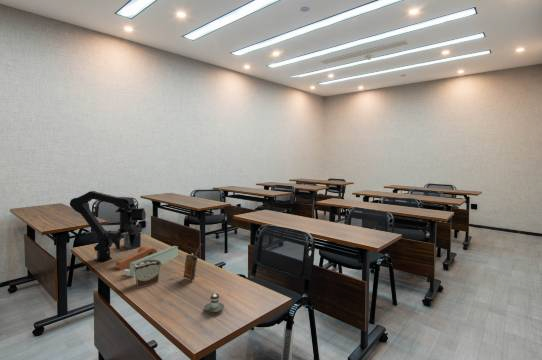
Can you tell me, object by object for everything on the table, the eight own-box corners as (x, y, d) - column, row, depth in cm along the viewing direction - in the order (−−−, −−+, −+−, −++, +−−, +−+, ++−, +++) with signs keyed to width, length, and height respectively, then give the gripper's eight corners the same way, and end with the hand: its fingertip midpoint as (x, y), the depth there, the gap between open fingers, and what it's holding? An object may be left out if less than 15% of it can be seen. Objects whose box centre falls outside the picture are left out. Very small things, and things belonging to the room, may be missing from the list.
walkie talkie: (206, 278, 141) (206, 242, 140) (184, 287, 130) (184, 248, 129) (188, 272, 148) (189, 237, 147) (166, 280, 138) (166, 243, 137)
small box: (141, 249, 184) (141, 232, 184) (131, 251, 179) (131, 234, 178) (133, 245, 191) (133, 230, 190) (123, 247, 186) (123, 231, 185)
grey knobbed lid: (202, 317, 106) (202, 304, 106) (196, 302, 117) (196, 290, 117) (233, 311, 111) (234, 299, 111) (225, 297, 122) (225, 286, 121)
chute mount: (123, 274, 142) (123, 261, 142) (168, 255, 172) (168, 244, 172) (134, 277, 140) (134, 263, 139) (177, 257, 170) (177, 246, 170)
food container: (155, 277, 140) (156, 257, 140) (161, 281, 136) (161, 260, 135) (129, 284, 132) (129, 263, 131) (134, 288, 127) (134, 266, 127)
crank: (150, 257, 169) (150, 244, 169) (157, 260, 164) (157, 247, 163) (114, 266, 154) (114, 251, 153) (121, 270, 149) (121, 255, 148)
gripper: (122, 224, 150) (122, 254, 151) (149, 218, 168) (148, 245, 169) (106, 222, 154) (106, 251, 155) (134, 216, 172) (134, 242, 172)
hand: (125, 247), depth 163 cm, fingers open, 9 cm apart
